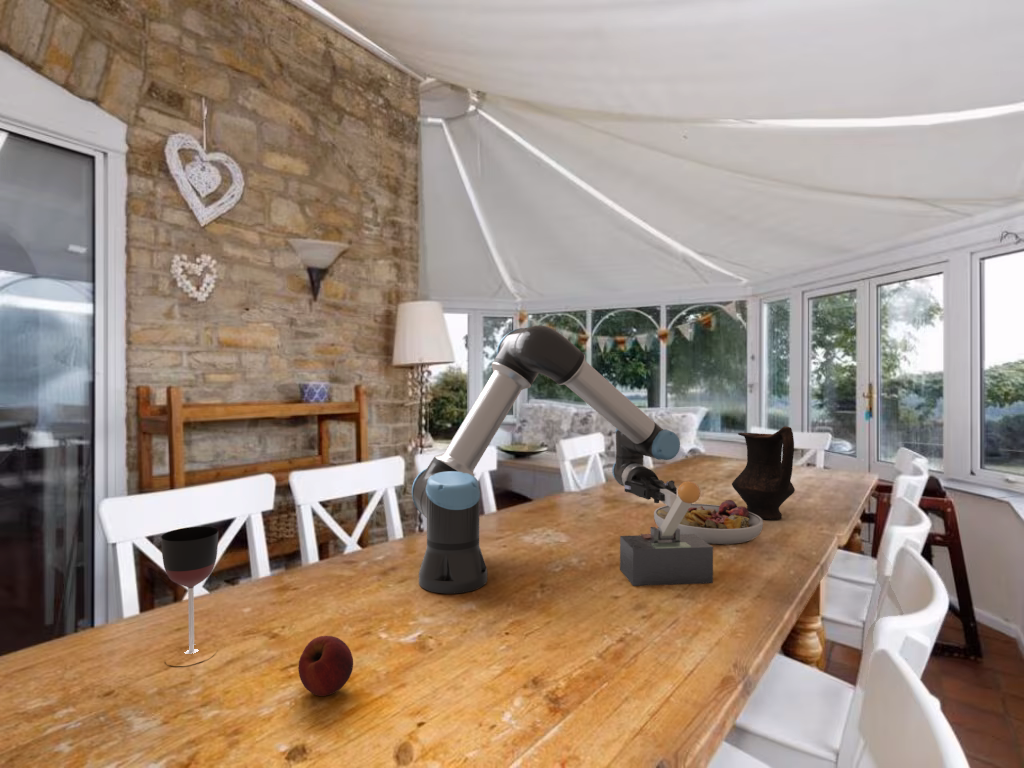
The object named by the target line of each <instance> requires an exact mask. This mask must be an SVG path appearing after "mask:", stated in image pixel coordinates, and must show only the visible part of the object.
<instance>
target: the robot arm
mask: <svg viewBox="0 0 1024 768" xmlns="http://www.w3.org/2000/svg"><path fill="white" fill-rule="evenodd" d="M496 349H497V350H496V356H495V358H494V359H493V361H492V363H491V368H492V374H491V376H490V377H489V379H488V381H486V384H485V385H484V387H483V388H482V390H481V391H480V394H479V395H478V396H477V398H476V399H475V402H474V403H473V404H472V406H471V408H470V409H469V411H468V412H467V414H466V416H465V418H464V419H463V421H462V423H461V424H460V426H459V428H458V429H457V431H456V432H455V434H454V436H453V437H452V439H451V440H450V442H449V443H448V446H447V447H446V449H445V451H443V453H441V454H436V455H434V457H433V458H432V460H431V461H430V463H429V464H428V466H427V468H425V469H423V470H422V471H420V472H419V473H418V474H417V476H416V477H415V478H414V480H413V483H412V486H411V498H412V502H413V504H414V507H415V508H416V509H417V510H418V512H419V513H420V514H421V515H423V516H424V517H425V519H426V549H425V552H424V556H423V559H422V562H421V565H420V568H419V572H418V585H419V586H420V588H422V589H424V590H425V591H428V592H431V593H438V594H445V595H446V594H451V595H452V594H463V593H469V592H472V591H476V590H478V589H480V588H482V587H484V586H485V585H487V583H488V568H487V566H486V565H487V564H486V562H485V558H484V556H483V553H482V550H481V547H480V498H481V490H480V482H479V481H478V479H477V477H475V475H474V471H475V469H476V467H477V465H478V464H479V462H480V460H481V459H482V457H483V455H484V454H485V452H486V450H487V449H488V447H489V445H490V444H491V443H492V441H493V438H494V437H495V436H496V434H497V432H498V430H499V428H500V427H501V425H502V424H503V423H504V421H505V419H506V417H507V415H508V413H509V412H510V410H511V409H512V407H513V405H514V404H515V402H516V400H517V399H518V397H519V396H520V394H521V391H523V390H526V389H530V388H531V386H533V383H534V381H535V380H536V378H537V377H538V376H539V374H540V375H543V376H545V377H547V378H549V379H551V380H552V381H553V382H555V383H556V384H557V385H559V386H562V385H563V386H564V385H565V386H566V387H567V388H568V389H569V390H571V392H573V393H574V394H575V395H577V396H578V397H579V398H580V399H581V400H583V401H584V402H585V404H587V405H588V406H589V407H590V408H592V409H593V410H594V411H596V412H597V414H599V415H600V416H602V417H603V418H604V419H605V420H606V421H607V422H609V423H610V424H611V425H612V426H614V428H615V462H614V463H613V465H612V469H611V472H612V476H613V478H614V479H615V480H616V482H617V483H618V484H619V485H620V486H623V487H624V492H626V493H630V494H632V495H635V496H637V497H638V498H642V499H645V500H647V501H649V500H651V499H653V500H654V501H653V502H654V504H660V502H661V503H663V504H664V505H665V506H669V507H672V505H673V503H674V501H675V500H676V498H677V496H678V488H677V486H676V485H675V480H672V479H671V480H668V481H666V483H665V481H664V480H662V479H659V477H658V476H657V474H656V472H654V471H653V470H652V469H650V468H648V467H646V466H644V456H645V457H649V458H652V459H656V460H658V461H659V460H662V461H669V460H672V459H674V458H676V456H677V455H678V454H679V451H680V450H681V449H680V448H681V441H680V437H679V436H678V435H677V434H676V432H673V431H671V430H669V429H663V428H662V427H661V426H660V425H659V424H657V423H656V421H654V420H652V418H650V417H649V416H648V415H647V414H646V413H645V412H643V410H641V409H640V407H638V406H637V405H635V403H633V402H632V401H631V400H630V399H629V398H628V397H627V396H625V394H623V393H622V392H621V391H620V390H619V389H617V388H616V387H615V386H614V384H612V383H611V382H610V381H609V380H608V379H606V378H605V377H604V376H603V375H602V374H601V373H600V372H599V371H597V370H596V369H595V368H594V367H593V366H592V365H590V363H588V361H586V355H585V354H584V352H582V351H581V350H580V349H579V348H578V347H577V346H576V345H575V344H573V343H572V342H571V341H570V340H569V339H567V338H566V337H565V336H564V335H562V334H561V333H559V332H558V331H557V330H555V329H553V328H551V327H550V326H545V325H533V326H527V327H521V328H516V329H513V330H510V332H508V333H507V334H505V335H504V336H503V337H501V340H500V341H499V342H498V346H497V348H496Z"/></svg>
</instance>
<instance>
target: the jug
mask: <svg viewBox="0 0 1024 768" xmlns="http://www.w3.org/2000/svg"><path fill="white" fill-rule="evenodd" d="M737 434H738V435H739V436H741V437H743V438H744V440H745V445H746V459H747V460H746V465H745V467H744V469H743V470H742V471H741V472H740V473H739V474H738V476H737V477H736V478H734V480H733V481H732V483H731V486H732V488H733V489H734V490H735V492H736V493H737V494H738V495H739V497H740V498H741V499H742V501H744V503H745V504H746V509H747V510H748V512H751V513H753V514H756V515H758V516H759V517H761V518H762V520H773V521H774V520H781V519H782V518H783V517H782V515H783V514H782V512H780V507H781V505H783V503H784V502H786V501H787V500H788V498H789V497H791V496H792V495H793V494H794V493H795V490H796V489H795V487H794V485H793V482H792V481H791V480H792V475H793V464H794V454H795V439H794V432H793V429H792V427H791V426H783V427H781V428H780V429H779V430H778V431H776V432H775V433H757V432H756V433H755V432H738V433H737Z"/></svg>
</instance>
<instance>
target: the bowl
mask: <svg viewBox="0 0 1024 768" xmlns="http://www.w3.org/2000/svg"><path fill="white" fill-rule="evenodd" d="M670 509H671V507H669V506H667V505H663V506H660V507H657V508H656V509H655V510H654V511H653V518H654V521H655V524H656V526H657V528H660V527H661V525H662V523H663V521H664V520H665V518H666V516H667V514H668V512H669V511H670ZM763 520H764V519H762V518H761V517H759V516H758V515H756V514H753V513H751V512H748V510H747V507H745V506H743V505H741V506H737V503H736V502H735V501H734V500H732V499H727V500H724V501H723V502H722V503H721V504H720V505H719V504H718V505H717V504H708V503H692V504H691V506H690V507H689V509H688V511H687V512H686V514H685V516H684V517H683V519H682V521H681V522H680V524H679V526H678V527H677V528H679V529H680V534H695V535H696V536H698V537H699V538H701V539H702V540H704V541H705V542H706V543H708V544H709V545H734V544H741V543H746V542H749V541H752V540H753V539H755V538H757V537H758V536H759V535H760V534H761V532H762V530H763V526H764V521H763Z"/></svg>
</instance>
